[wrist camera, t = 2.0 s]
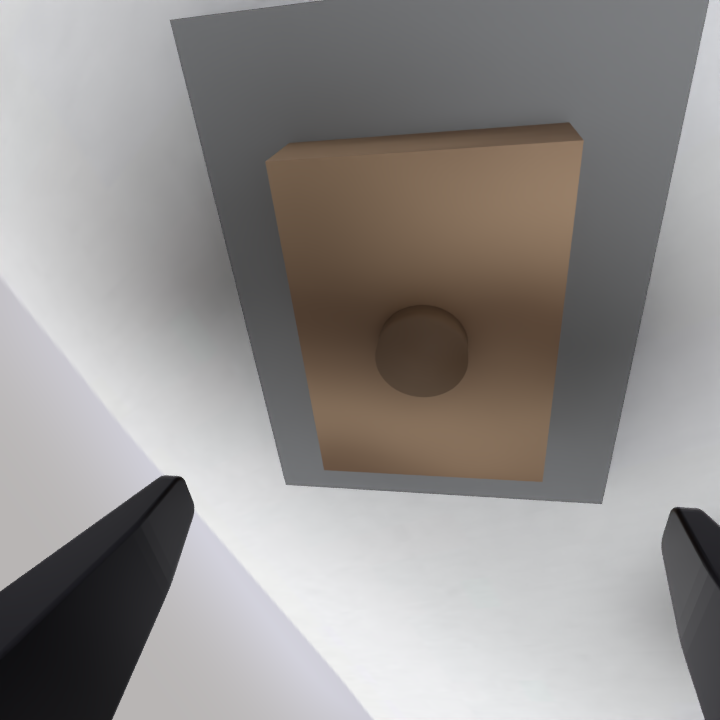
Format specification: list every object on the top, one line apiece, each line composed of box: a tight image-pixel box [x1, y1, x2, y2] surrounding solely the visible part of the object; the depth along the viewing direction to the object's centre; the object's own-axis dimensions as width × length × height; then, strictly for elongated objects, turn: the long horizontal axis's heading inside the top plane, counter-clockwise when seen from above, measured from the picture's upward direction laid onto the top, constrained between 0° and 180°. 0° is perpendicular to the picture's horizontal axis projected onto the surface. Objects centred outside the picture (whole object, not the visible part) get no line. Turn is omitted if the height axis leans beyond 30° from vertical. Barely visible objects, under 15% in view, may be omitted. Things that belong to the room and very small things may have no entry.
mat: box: [170, 0, 709, 504], centre depth 16 cm, size 16×12×1 cm
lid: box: [265, 122, 584, 482], centre depth 15 cm, size 10×7×3 cm
